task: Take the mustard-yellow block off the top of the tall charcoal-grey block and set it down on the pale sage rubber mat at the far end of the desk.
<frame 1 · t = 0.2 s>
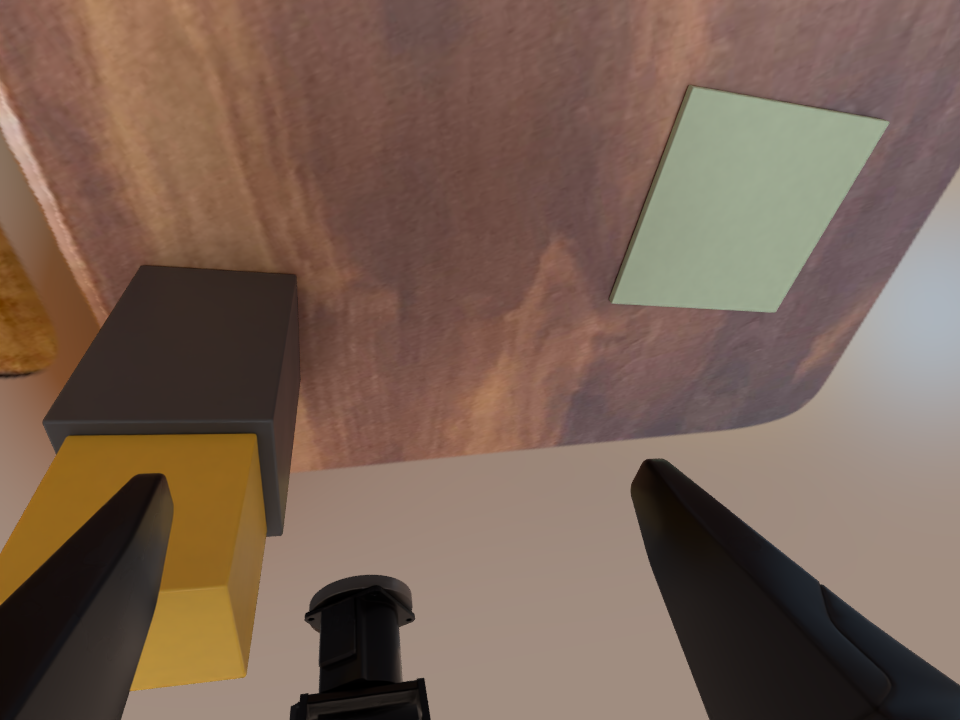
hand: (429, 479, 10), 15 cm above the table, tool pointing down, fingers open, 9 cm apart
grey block: (229, 328, 24), on the table, touching yellow block
mat: (736, 215, 25), on the table
yellow block: (179, 487, 17), point 9 cm above the table, touching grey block
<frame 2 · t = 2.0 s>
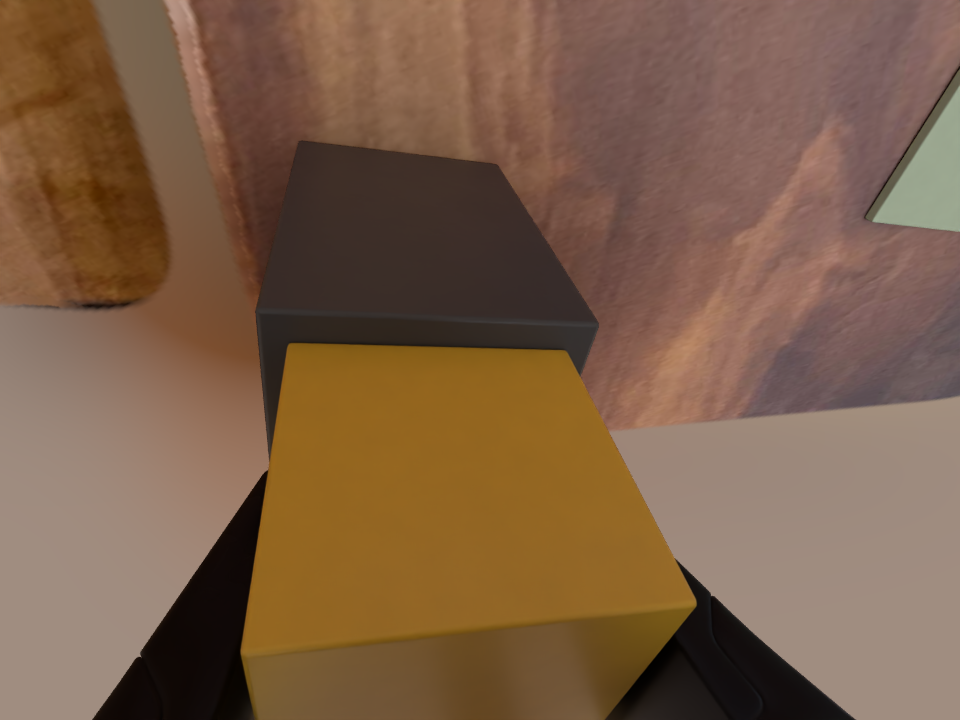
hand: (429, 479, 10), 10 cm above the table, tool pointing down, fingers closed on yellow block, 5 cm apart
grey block: (395, 243, 18), on the table, touching yellow block
yellow block: (421, 442, 11), point 9 cm above the table, touching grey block, gripper
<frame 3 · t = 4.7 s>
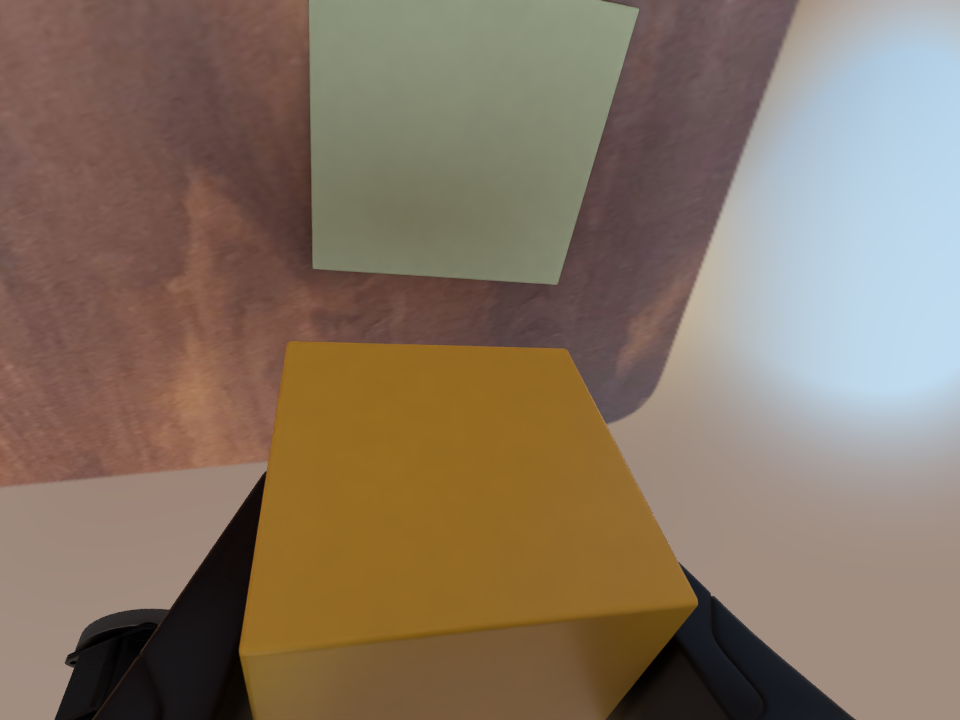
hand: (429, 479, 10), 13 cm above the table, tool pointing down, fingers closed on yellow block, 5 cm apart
mat: (459, 147, 19), on the table
yellow block: (421, 441, 11), point 12 cm above the table, touching gripper
when the fingers open (1 cm above the table, at t = 7.6 s): yellow block stays where it is, resting on mat.
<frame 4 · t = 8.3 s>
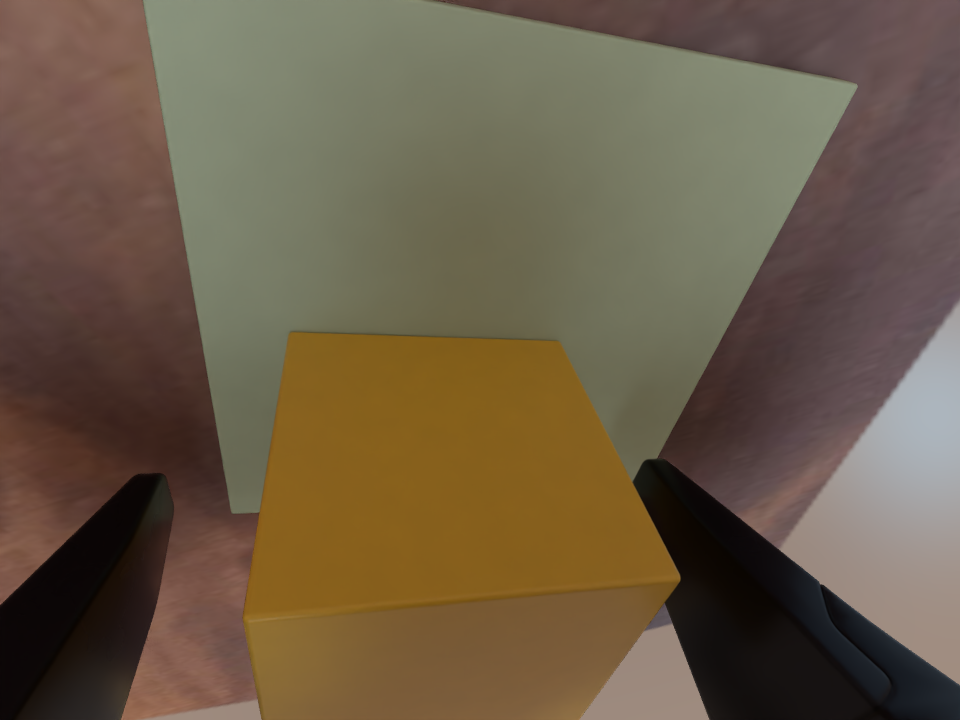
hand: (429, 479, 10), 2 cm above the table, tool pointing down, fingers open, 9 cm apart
mat: (487, 324, 10), on the table
yellow block: (419, 432, 11), resting on mat
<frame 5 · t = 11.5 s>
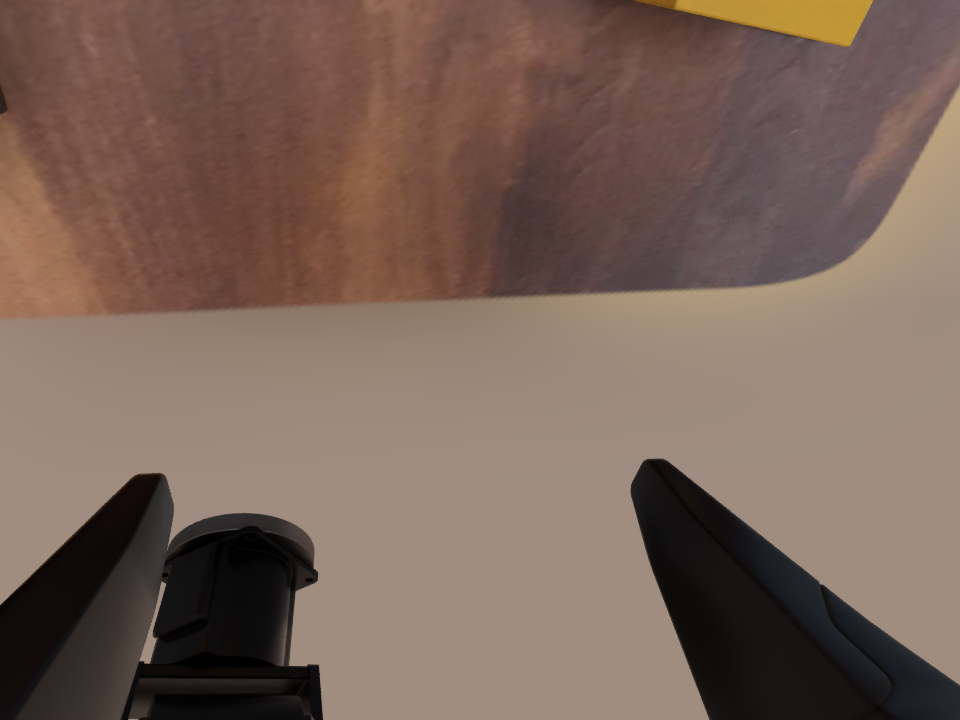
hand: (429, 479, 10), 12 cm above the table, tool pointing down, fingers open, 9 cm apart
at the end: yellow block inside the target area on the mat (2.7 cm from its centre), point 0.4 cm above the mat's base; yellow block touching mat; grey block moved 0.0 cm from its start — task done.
